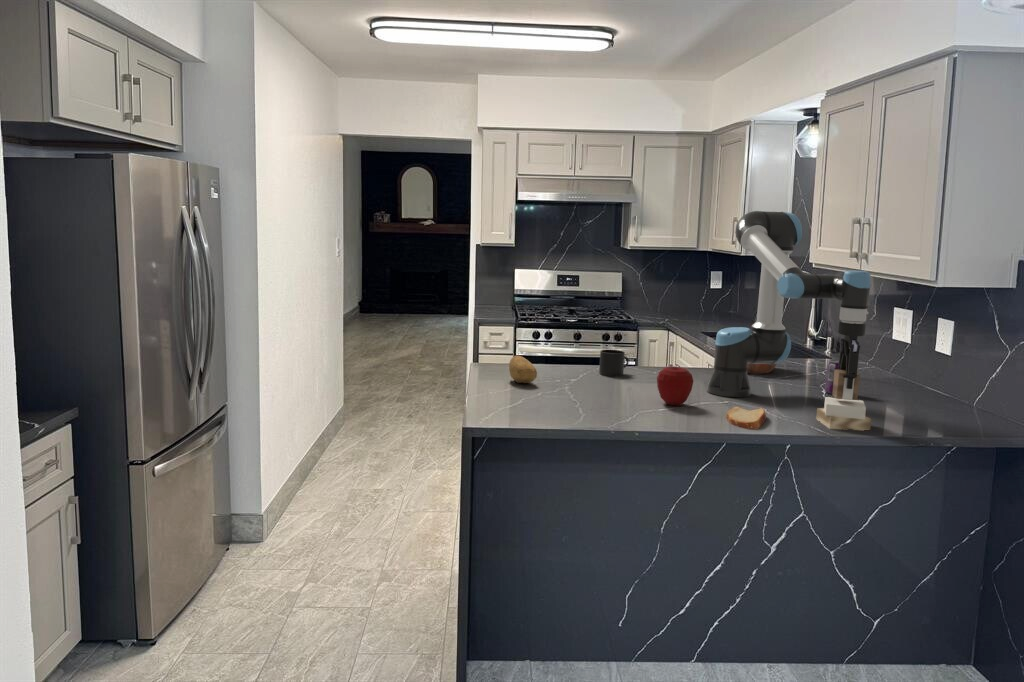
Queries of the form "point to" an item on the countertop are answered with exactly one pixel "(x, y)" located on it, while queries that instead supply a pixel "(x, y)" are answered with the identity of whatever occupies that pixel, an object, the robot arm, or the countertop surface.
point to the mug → (612, 362)
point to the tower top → (844, 408)
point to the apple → (674, 385)
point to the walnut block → (839, 385)
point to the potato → (522, 370)
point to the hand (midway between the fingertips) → (844, 396)
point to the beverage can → (831, 375)
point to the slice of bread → (746, 417)
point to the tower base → (842, 421)
